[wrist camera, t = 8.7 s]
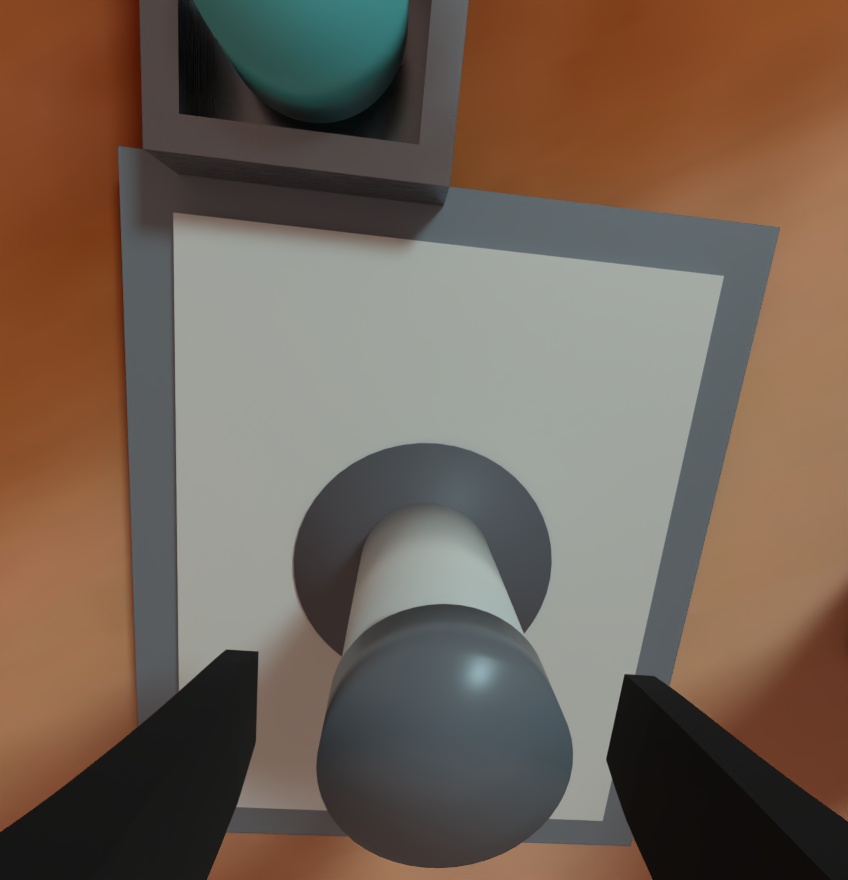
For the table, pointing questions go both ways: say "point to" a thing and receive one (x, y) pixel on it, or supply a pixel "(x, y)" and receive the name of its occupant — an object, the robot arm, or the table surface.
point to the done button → (312, 51)
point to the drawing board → (420, 437)
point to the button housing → (297, 142)
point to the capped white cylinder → (438, 703)
